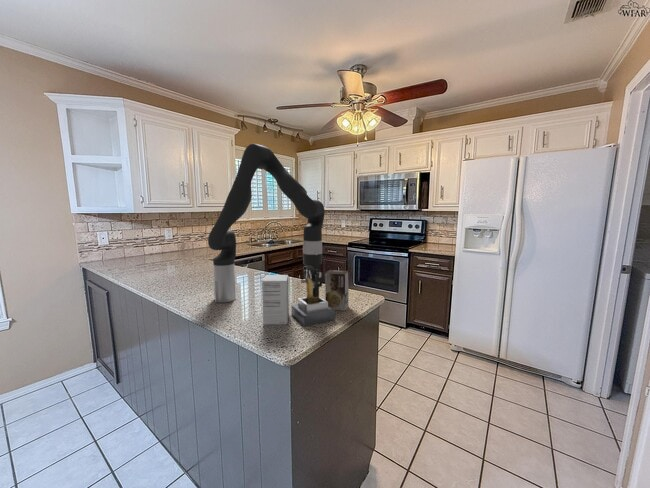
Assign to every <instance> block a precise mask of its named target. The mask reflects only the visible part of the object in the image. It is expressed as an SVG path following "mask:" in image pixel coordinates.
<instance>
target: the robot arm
mask: <svg viewBox="0 0 650 488" xmlns="http://www.w3.org/2000/svg"><path fill="white" fill-rule="evenodd" d="M257 170H264V171H266V172H267V173H268V174H269V175H271V177H273V179H275V181H276V183H277V185H278V187H279V190H280V191H281V192H282V193H283V195H285V196H286V197H287V198H288V199H289V200H290V201H291V202H292V204H293V205H294V207H295V208H296V210H297V211H298V212H299V214H300V215H301V216H303V217H304V218H306V219H307V224H306V225H304V227H303V244H302V264H303V265H304V266H302V271H303V279H306V278H308V277H310V279H311V282H312V285H313V297H318V296H320V288H322V286H323V278H324V272H323V271H320V266H321V265H323V241H322V240H323V239H322V238H323V235H322V234H323V232H322V231H323V226H324V220H325V215H326V214H325V213H326V212H325V206H324V204H323V202H321V201H320V200H316V199H312V198H311V197H310V196H309V195H308V191H307V190H306V189H305V187H304V186H303V185H302V184H300V183H299V181H298V180H296V179H295V178H294V177H293V175H291V173H289V171H288V170H287V169H286V168H285V167H284V165H283V164H282V163H281V162H280V160H279V159H278V158H277V156H276V154H275V153H274V152H273V151H272V149H270V148H269V147H267V146H265V145H261V144H258V143H250V144H248V145H247V146H246V147H245V150H244V151H243V154H242V157H241V160H240V163H239V166H238V170H237V174H236V176H235V177H234V178H235V179H234V181H233V184H232V186H231V189H229V192H228V194H227V197H226V200H225V201H224V202H225V203H224V205H223V207H222V209H221V211H220V213H219V216H218V218H217V220H216V222H215V223H214V225H213V227H212V228H211V230H210V231H209V232H210V233H209V234H208V239H207V245H208V247H209V248H210V250H213V251H220V252H219V254H218V255H217V256H215V257H213V259H212V260H213V263H212V264H213V296H214V297H213V298H214V302H215V303H230V302H233V301H235V300H236V298H237V297H236V294H237V293H236V273H235V272H236V270H235V269H236V267H235V265H236V264H235V259H236V256H237V238H236V235H235V232H234V231H233V230H232V229H230V228H231V227H232V226H233V225H234V224H235V223H236V222H237V221H238V220H239V219H241V218H242V216H243V215H244V214H246V212H247V210H248V207H249V205H250V204H251V201H252V195H253V193H252V181H253V177H254V176H255V174H256V172H257ZM314 278H315V279H314Z"/></svg>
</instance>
